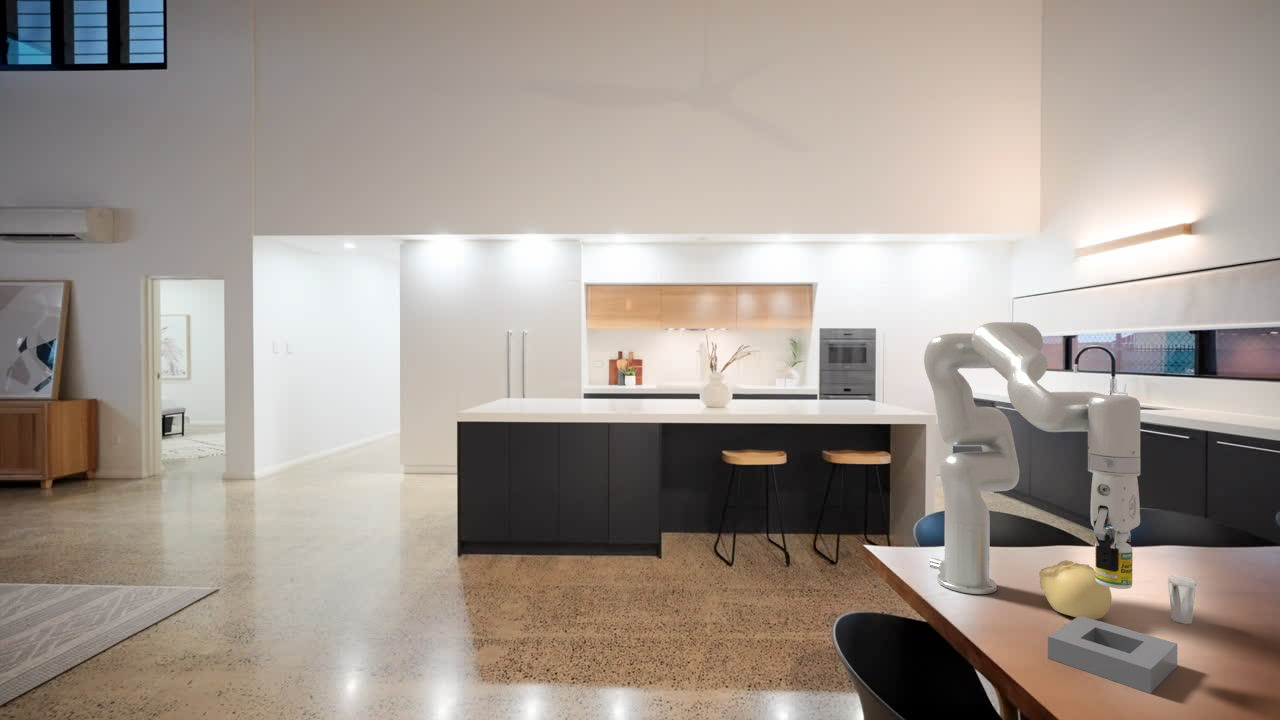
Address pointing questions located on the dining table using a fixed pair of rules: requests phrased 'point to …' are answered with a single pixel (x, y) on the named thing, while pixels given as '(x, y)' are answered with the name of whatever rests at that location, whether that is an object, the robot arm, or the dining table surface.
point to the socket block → (1113, 653)
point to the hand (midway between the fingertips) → (1113, 564)
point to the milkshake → (1182, 598)
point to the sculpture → (1075, 590)
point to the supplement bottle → (1124, 574)
